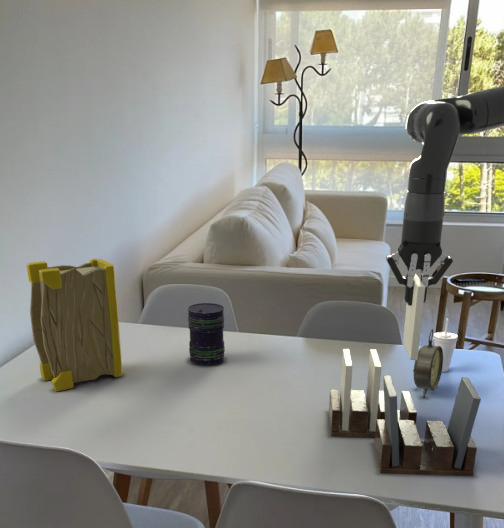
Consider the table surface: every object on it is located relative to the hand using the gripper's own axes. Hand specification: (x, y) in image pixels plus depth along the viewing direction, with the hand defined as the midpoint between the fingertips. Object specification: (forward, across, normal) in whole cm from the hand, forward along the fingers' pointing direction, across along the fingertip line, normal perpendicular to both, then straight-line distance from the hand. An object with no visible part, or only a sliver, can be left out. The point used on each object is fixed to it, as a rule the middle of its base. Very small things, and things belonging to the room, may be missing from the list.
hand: (414, 304), depth 143 cm
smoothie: (+29, -16, -40) cm, 52 cm away
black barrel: (+29, +48, -43) cm, 70 cm away
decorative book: (+29, +79, -27) cm, 88 cm away
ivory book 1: (+28, +13, -3) cm, 30 cm away
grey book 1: (+28, +4, +13) cm, 31 cm away
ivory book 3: (+10, 0, 0) cm, 10 cm away
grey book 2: (+28, -8, +13) cm, 32 cm away
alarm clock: (+29, -9, -24) cm, 38 cm away
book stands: (+29, +2, +5) cm, 29 cm away
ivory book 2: (+28, +7, -3) cm, 28 cm away
